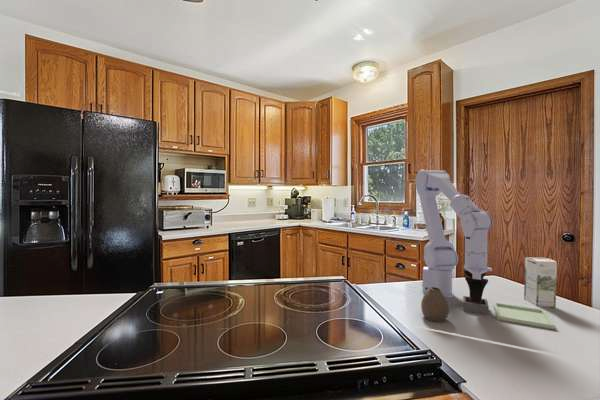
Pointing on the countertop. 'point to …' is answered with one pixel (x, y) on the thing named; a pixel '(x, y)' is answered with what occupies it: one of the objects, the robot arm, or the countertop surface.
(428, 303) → the vase
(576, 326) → the countertop surface
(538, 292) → the syrup box
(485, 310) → the square holder
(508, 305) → the tray
